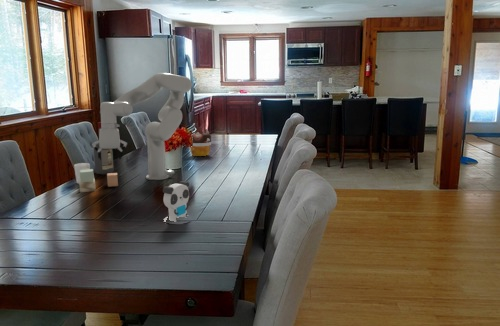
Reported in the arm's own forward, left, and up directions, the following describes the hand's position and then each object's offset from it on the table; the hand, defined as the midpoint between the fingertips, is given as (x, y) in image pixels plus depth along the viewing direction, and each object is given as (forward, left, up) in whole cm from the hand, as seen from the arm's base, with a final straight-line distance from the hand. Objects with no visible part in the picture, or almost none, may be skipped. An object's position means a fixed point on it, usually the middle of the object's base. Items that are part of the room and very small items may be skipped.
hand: (110, 159), depth 219 cm
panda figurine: (-25, +65, -14) cm, 71 cm away
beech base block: (+12, +6, -14) cm, 19 cm away
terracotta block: (0, 0, -14) cm, 14 cm away
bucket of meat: (-60, -71, -14) cm, 94 cm away
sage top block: (+11, +6, -9) cm, 16 cm away
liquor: (+5, -32, -14) cm, 35 cm away
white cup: (+15, -10, -14) cm, 23 cm away
